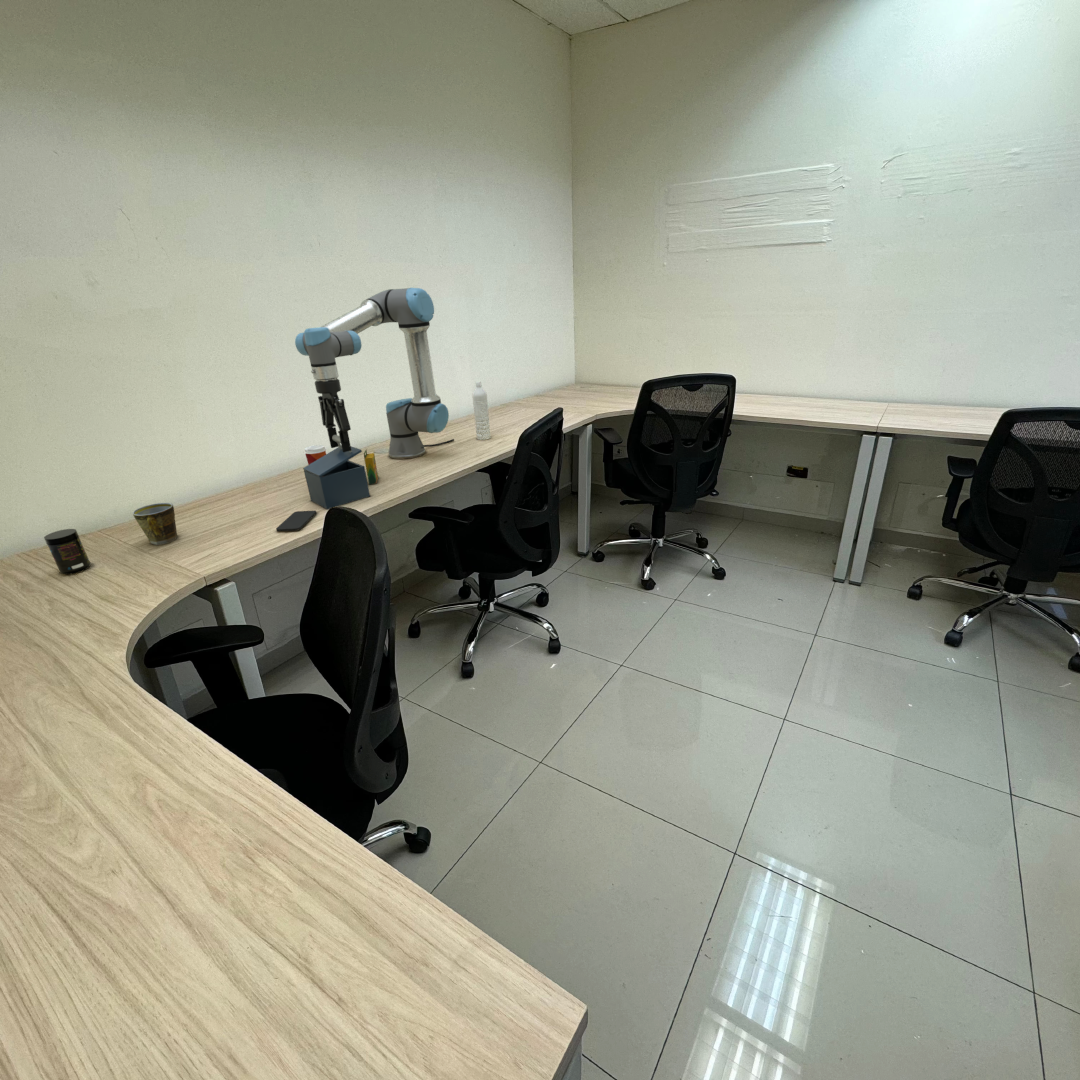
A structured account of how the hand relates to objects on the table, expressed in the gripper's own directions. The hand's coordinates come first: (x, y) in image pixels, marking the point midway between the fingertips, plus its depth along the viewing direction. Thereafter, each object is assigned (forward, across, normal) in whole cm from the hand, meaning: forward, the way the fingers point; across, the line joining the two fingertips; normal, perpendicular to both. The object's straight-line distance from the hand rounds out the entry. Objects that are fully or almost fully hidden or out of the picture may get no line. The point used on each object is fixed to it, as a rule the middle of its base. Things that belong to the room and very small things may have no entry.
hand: (341, 449), depth 185 cm
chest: (+17, 0, -4) cm, 17 cm away
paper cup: (+17, -21, -1) cm, 27 cm away
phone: (+17, +10, -23) cm, 30 cm away
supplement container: (+16, -5, -77) cm, 79 cm away
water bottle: (+17, -25, +79) cm, 85 cm away
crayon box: (+17, -8, +13) cm, 23 cm away
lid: (+3, 0, -4) cm, 5 cm away
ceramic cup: (+17, -7, -56) cm, 59 cm away
